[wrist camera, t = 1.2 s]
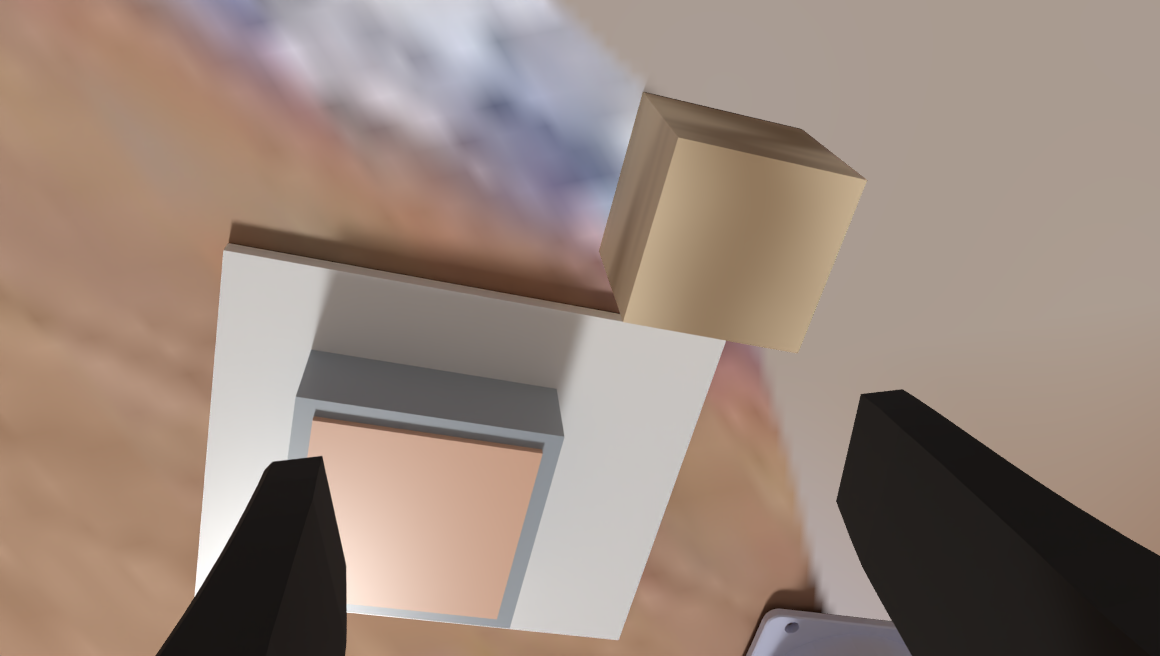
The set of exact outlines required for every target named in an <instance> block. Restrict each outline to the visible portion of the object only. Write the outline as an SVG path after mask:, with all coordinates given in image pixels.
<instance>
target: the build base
mask: <svg viewBox="0 0 1160 656" xmlns="http://www.w3.org/2000/svg"><path fill="white" fill-rule="evenodd" d="M725 342H726V340H720V339H715V338H709V337H703V336H698V335H692V334H687V333H681V332H675V331H670V330H664V329H659V328H653V327H648V326H642V325H636V324H631V323H625V322H623V321H622V318H621V315H620V314H617V313H612V312H606V311H601V310H595V309H590V308H584V307H579V306H573V305H568V304H562V303H557V302H551V301H546V300H540V299H535V298H529V297H524V296H518V295H512V294H507V293H501V292H496V291H490V290H485V289H479V288H474V287H468V286H463V285H457V284H452V283H446V282H441V281H435V280H430V279H424V278H419V277H413V276H407V275H402V274H396V273H391V272H385V271H380V270H374V269H369V268H363V267H358V266H352V265H347V264H341V263H336V262H330V261H325V260H319V259H313V258H308V257H302V256H297V255H291V254H286V253H280V252H275V251H269V250H264V249H258V248H253V247H247V246H242V245H236V244H231V243H228V244H227V246H226V247H225V249H224V251H223V263H222V275H221V287H220V299H219V311H218V323H217V335H216V347H215V359H214V371H213V383H212V395H211V407H210V419H209V431H208V443H207V455H206V467H205V479H204V491H203V503H202V515H201V527H200V539H199V552H198V564H197V576H196V588H195V596H196V594H197V592H198V591H199V589H200V587H201V586H202V584H203V582H204V581H205V579H206V577H207V576H208V574H209V572H210V571H211V569H212V567H213V566H214V564H215V562H216V561H217V559H218V557H219V556H220V554H221V552H222V551H223V549H224V547H225V545H226V543H227V542H228V540H229V538H230V536H231V534H232V533H233V531H234V529H235V527H236V525H237V524H238V522H239V520H240V518H241V516H242V514H243V512H244V510H245V509H246V507H247V505H248V503H249V501H250V499H251V497H252V495H253V493H254V491H255V489H256V487H257V485H258V483H259V481H260V479H261V476H262V474H263V472H264V470H265V469H266V468H267V467H268V466H269V465H270V464H271V463H272V462H273V461H282V460H290V459H299V458H308V457H317V456H322V457H323V461H324V466H325V470H326V475H327V480H328V484H329V489H330V493H331V498H332V502H333V507H334V511H335V516H336V521H337V525H338V530H339V534H340V539H341V543H342V548H343V553H344V557H345V562H346V581H347V612H348V613H358V614H368V615H378V616H387V617H397V618H407V619H417V620H427V621H437V622H446V623H456V624H466V625H476V626H486V627H495V628H505V629H515V630H525V631H535V632H544V633H554V634H564V635H574V636H584V637H593V638H603V639H613V640H619V637H620V634H621V632H622V629H623V626H624V623H625V621H626V618H627V615H628V612H629V609H630V607H631V604H632V601H633V598H634V596H635V593H636V590H637V587H638V584H639V582H640V579H641V576H642V573H643V570H644V568H645V565H646V562H647V559H648V557H649V554H650V551H651V548H652V545H653V543H654V540H655V537H656V534H657V531H658V529H659V526H660V523H661V520H662V518H663V515H664V512H665V509H666V506H667V504H668V501H669V498H670V495H671V492H672V490H673V487H674V484H675V481H676V479H677V476H678V473H679V470H680V467H681V465H682V462H683V459H684V456H685V453H686V451H687V448H688V445H689V442H690V440H691V437H692V434H693V431H694V428H695V426H696V423H697V420H698V417H699V414H700V412H701V409H702V406H703V403H704V401H705V398H706V395H707V392H708V389H709V387H710V384H711V381H712V378H713V375H714V373H715V370H716V367H717V364H718V362H719V359H720V356H721V353H722V350H723V348H724V345H725Z"/></svg>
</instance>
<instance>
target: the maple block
mask: <svg viewBox="0 0 1160 656" xmlns="http://www.w3.org/2000/svg"><path fill="white" fill-rule="evenodd" d="M866 182H867V180H866V179H865V178H864V177H862V176H861V175H860V174H859V173H857V172H856V171H855V170H853V169H852V168H851V167H850V166H848V165H847V164H846V163H845V162H843V161H842V160H841V159H839V158H838V157H837V156H836V155H834V154H833V153H832V152H830V151H829V150H828V149H827V148H825V147H824V146H823V145H821V144H820V143H819V142H818V141H816V140H815V139H814V138H812V137H811V136H810V135H809V134H807V133H806V132H805V131H803V130H802V129H800V128H796V127H791V126H787V125H783V124H779V123H775V122H770V121H765V120H762V119H758V118H753V117H749V116H744V115H740V114H736V113H732V112H728V111H723V110H719V109H715V108H711V107H707V106H702V105H698V104H694V103H690V102H685V101H681V100H677V99H672V98H669V97H664V96H660V95H656V94H652V93H650V94H649V93H645V92H643V94H642V97H641V101H640V105H639V108H638V112H637V115H636V119H635V123H634V126H633V130H632V134H631V137H630V141H629V144H628V148H627V152H626V155H625V159H624V162H623V166H622V170H621V173H620V177H619V181H618V184H617V188H616V191H615V195H614V199H613V202H612V206H611V209H610V213H609V217H608V220H607V224H606V228H605V231H604V235H603V238H602V242H601V246H600V249H599V253H600V256H601V259H602V262H603V265H604V268H605V270H606V273H607V276H608V279H609V282H610V285H611V288H612V291H613V294H614V297H615V300H616V303H617V306H618V309H619V312H620V315H621V318H622V321H623V322H625V323H631V324H636V325H642V326H648V327H653V328H659V329H664V330H670V331H675V332H681V333H687V334H692V335H698V336H703V337H709V338H715V339H720V340H726V341H731V342H737V343H742V344H748V345H754V346H759V347H765V348H770V349H776V350H782V351H788V352H793V353H798V352H799V350H800V347H801V345H802V342H803V340H804V337H805V334H806V332H807V330H808V327H809V325H810V322H811V320H812V317H813V315H814V312H815V310H816V307H817V305H818V302H819V300H820V297H821V295H822V292H823V290H824V287H825V285H826V282H827V280H828V277H829V274H830V272H831V269H832V267H833V265H834V262H835V260H836V257H837V255H838V252H839V250H840V247H841V245H842V242H843V240H844V237H845V235H846V232H847V230H848V227H849V225H850V222H851V220H852V217H853V215H854V212H855V209H856V207H857V204H858V202H859V200H860V197H861V195H862V192H863V189H864V187H865V185H866Z"/></svg>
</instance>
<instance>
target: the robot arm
mask: <svg viewBox="0 0 1160 656" xmlns="http://www.w3.org/2000/svg"><path fill="white" fill-rule="evenodd" d="M836 502H837V504H838V507H839V510H840V512H841V515H842V517H843V520H844V523H845V525H846V528H847V530H848V533H849V536H850V538H851V541H852V543H853V546H854V548H855V550H856V553H857V555H858V557H859V560H860V562H861V565H862V567H863V569H864V571H865V573H866V574H867V576H868V578H869V580H870V582H871V584H872V586H873V587H874V589H875V591H876V592H877V595H878V596H879V598H880V600H881V602H882V604H883V605H884V607H885V609H886V611H887V613H888V614H889V616H890V618H891V619H892V621H885V620H875V619H867V618H858V617H850V616H841V615H832V614H823V613H815V612H806V611H797V610H788V609H773V610H770V611H769V612H768V613H766V614H765V616H764V617H763V619H762V621H761V623H760V626H759V628H758V630H757V632H756V635H755V637H754V639H753V641H752V644H751V646H750V648H749V650H748V653H747V655H746V656H1160V556H1159V555H1157V554H1155V553H1154V552H1152V551H1150V550H1148V549H1147V548H1145V547H1143V546H1141V545H1140V544H1138V543H1136V542H1134V541H1133V540H1131V539H1129V538H1127V537H1126V536H1124V535H1122V534H1121V533H1119V532H1118V531H1116V530H1114V529H1113V528H1111V527H1109V526H1108V525H1106V524H1104V523H1103V522H1101V521H1099V520H1098V519H1096V518H1095V517H1093V516H1091V515H1090V514H1088V513H1086V512H1085V511H1083V510H1081V509H1080V508H1078V507H1076V506H1075V505H1073V504H1072V503H1070V502H1069V501H1067V500H1065V499H1064V498H1062V497H1061V496H1059V495H1058V494H1056V493H1055V492H1053V491H1052V490H1050V489H1049V488H1047V487H1045V486H1044V485H1043V484H1041V483H1040V482H1038V481H1036V480H1035V479H1033V478H1032V477H1030V476H1029V475H1028V474H1026V473H1024V472H1023V471H1022V470H1020V469H1019V468H1017V467H1016V466H1014V465H1013V464H1011V463H1010V462H1008V461H1007V460H1005V459H1004V458H1003V457H1001V456H1000V455H998V454H997V453H995V452H994V451H992V450H991V449H989V448H988V447H986V446H985V445H984V444H982V443H981V442H979V441H978V440H977V439H975V438H974V437H972V436H971V435H969V434H968V433H967V432H965V431H964V430H962V429H961V428H959V427H958V426H956V425H955V424H954V423H952V422H951V421H949V420H948V419H946V418H945V417H943V416H942V415H941V414H939V413H938V412H936V411H935V410H933V409H932V408H930V407H929V406H927V405H926V404H924V403H923V402H921V401H920V400H918V399H917V398H915V397H914V396H912V395H910V394H909V393H908V392H906V391H904V390H893V391H884V392H876V393H867V394H861V396H860V401H859V405H858V410H857V414H856V418H855V422H854V427H853V431H852V435H851V440H850V444H849V448H848V453H847V457H846V461H845V466H844V470H843V474H842V479H841V483H840V487H839V492H838V496H837V500H836ZM792 622H793V623H792ZM789 623H792V624H790V625H787V624H789ZM346 634H347V581H346V562H345V557H344V553H343V548H342V543H341V539H340V534H339V530H338V525H337V521H336V516H335V511H334V507H333V502H332V498H331V493H330V489H329V484H328V480H327V475H326V470H325V466H324V461H323V457H322V456H317V457H308V458H299V459H290V460H282V461H273V462H272V463H271V464H270V465H269V466H268V467H267V468H266V469H265V470H264V472H263V474H262V476H261V479H260V481H259V483H258V485H257V487H256V489H255V491H254V493H253V495H252V497H251V499H250V501H249V503H248V505H247V507H246V509H245V510H244V512H243V514H242V516H241V518H240V520H239V522H238V524H237V525H236V527H235V529H234V531H233V533H232V534H231V536H230V538H229V540H228V542H227V543H226V545H225V547H224V549H223V551H222V552H221V554H220V556H219V557H218V559H217V561H216V562H215V564H214V566H213V567H212V569H211V571H210V572H209V574H208V576H207V577H206V579H205V581H204V582H203V584H202V586H201V587H200V589H199V591H198V592H197V594H196V596H195V597H194V599H193V600H192V602H191V604H190V605H189V607H188V608H187V610H186V611H185V613H184V615H183V616H182V618H181V619H180V621H179V622H178V623H177V625H176V626H175V628H174V629H173V631H172V632H171V634H170V635H169V637H168V638H167V640H166V641H165V643H164V644H163V646H162V647H161V649H160V650H159V652H158V653H157V655H156V656H345V650H346Z"/></svg>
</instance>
